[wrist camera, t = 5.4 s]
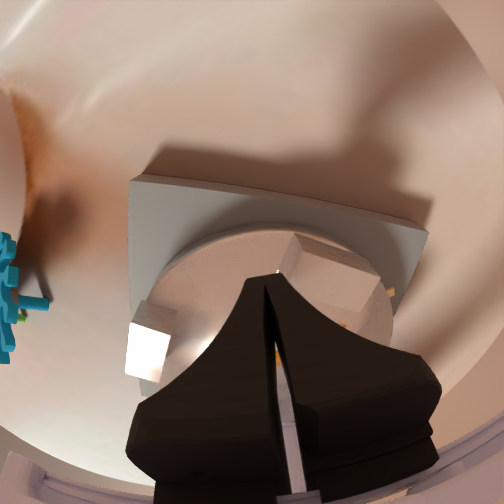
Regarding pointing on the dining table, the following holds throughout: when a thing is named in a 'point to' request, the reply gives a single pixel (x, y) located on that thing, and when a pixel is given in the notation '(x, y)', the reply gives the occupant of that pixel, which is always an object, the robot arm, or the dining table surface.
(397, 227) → the base plate
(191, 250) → the lugged metal disc
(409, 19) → the dining table surface
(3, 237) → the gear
